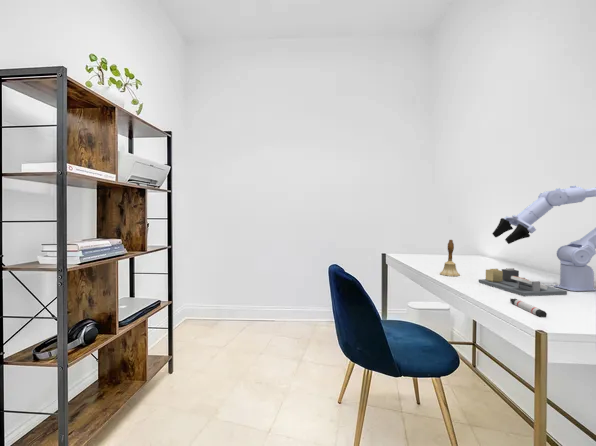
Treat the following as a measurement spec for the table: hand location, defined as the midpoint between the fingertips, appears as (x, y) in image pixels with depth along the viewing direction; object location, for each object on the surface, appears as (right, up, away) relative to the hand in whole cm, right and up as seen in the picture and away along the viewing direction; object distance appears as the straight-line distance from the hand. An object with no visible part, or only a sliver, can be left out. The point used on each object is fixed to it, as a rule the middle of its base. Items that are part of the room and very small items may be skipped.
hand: (500, 238), depth 123 cm
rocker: (+4, -15, -10) cm, 18 cm away
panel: (+6, -18, -2) cm, 19 cm away
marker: (-11, -20, -29) cm, 36 cm away
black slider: (+7, -17, +5) cm, 19 cm away
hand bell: (-8, -18, +24) cm, 31 cm away
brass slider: (0, -17, +4) cm, 17 cm away
